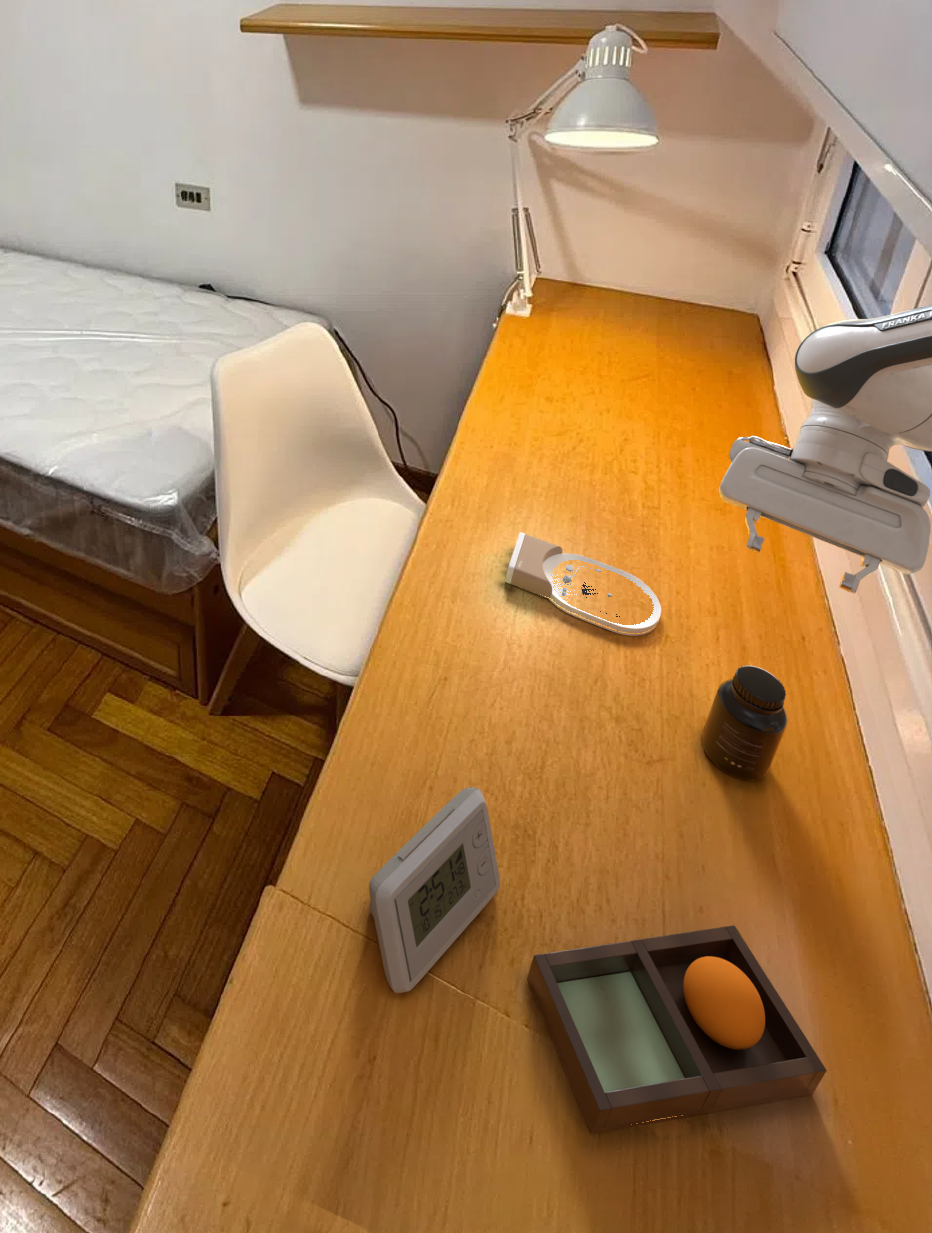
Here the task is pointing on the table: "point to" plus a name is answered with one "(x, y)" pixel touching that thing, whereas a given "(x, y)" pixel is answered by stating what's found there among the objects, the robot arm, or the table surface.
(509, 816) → the table surface
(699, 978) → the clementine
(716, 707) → the supplement bottle
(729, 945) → the tray
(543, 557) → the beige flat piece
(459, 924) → the digital clock
